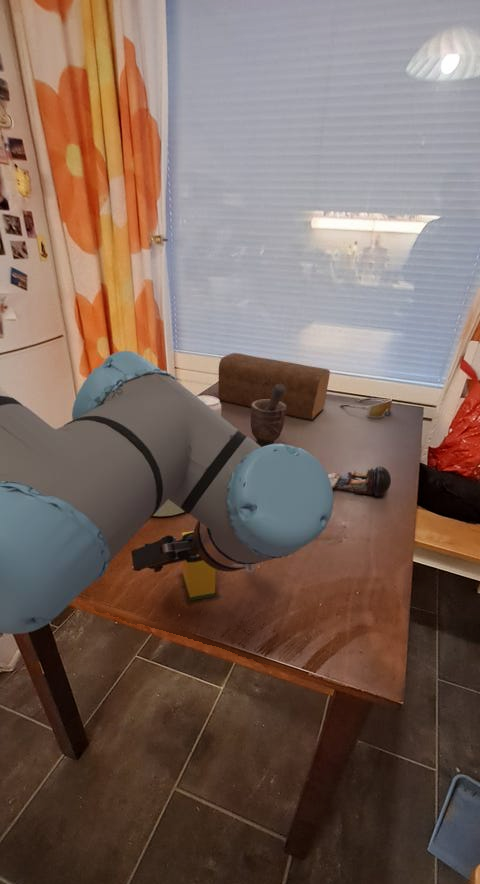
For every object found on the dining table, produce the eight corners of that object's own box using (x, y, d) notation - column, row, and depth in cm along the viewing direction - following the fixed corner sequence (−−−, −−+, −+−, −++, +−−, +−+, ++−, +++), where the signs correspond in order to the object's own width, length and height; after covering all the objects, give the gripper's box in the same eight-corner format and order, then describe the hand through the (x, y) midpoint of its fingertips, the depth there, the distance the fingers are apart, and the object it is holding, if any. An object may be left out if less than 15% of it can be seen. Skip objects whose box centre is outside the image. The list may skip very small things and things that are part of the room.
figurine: (393, 471, 89) (308, 464, 94) (388, 501, 91) (306, 493, 96) (392, 464, 96) (313, 459, 101) (388, 493, 98) (311, 486, 103)
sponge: (190, 601, 65) (189, 556, 60) (182, 576, 70) (181, 532, 65) (215, 596, 66) (216, 552, 61) (206, 572, 71) (206, 529, 66)
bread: (312, 422, 131) (320, 375, 123) (216, 400, 142) (217, 356, 134) (324, 409, 142) (332, 365, 133) (234, 390, 152) (236, 348, 144)
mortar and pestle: (294, 461, 108) (305, 382, 96) (267, 468, 103) (275, 387, 92) (267, 444, 115) (275, 369, 103) (241, 450, 111) (246, 373, 99)
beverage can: (204, 453, 108) (204, 407, 101) (183, 443, 113) (182, 399, 106) (226, 444, 113) (228, 401, 106) (205, 435, 118) (206, 392, 111)
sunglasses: (374, 421, 135) (376, 405, 132) (336, 413, 144) (337, 398, 142) (398, 412, 143) (400, 397, 140) (360, 406, 153) (361, 391, 150)
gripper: (112, 589, 38) (118, 595, 59) (351, 550, 45) (283, 567, 66) (102, 510, 39) (111, 542, 60) (337, 484, 46) (274, 521, 66)
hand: (201, 555), depth 63 cm, fingers open, 13 cm apart
